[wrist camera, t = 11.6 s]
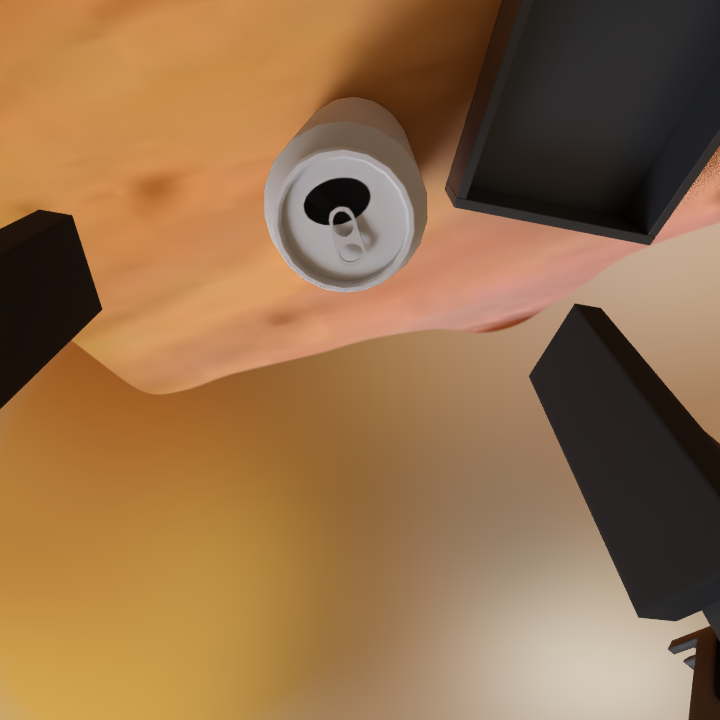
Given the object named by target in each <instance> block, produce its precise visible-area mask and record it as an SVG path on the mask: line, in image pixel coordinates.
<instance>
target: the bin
mask: <svg viewBox="0 0 720 720" xmlns="http://www.w3.org/2000/svg"><path fill="white" fill-rule="evenodd" d="M719 146H720V0H502V2H501V6H500V9H499V12H498V16H497V19H496V22H495V25H494V29H493V32H492V35H491V39H490V42H489V45H488V49H487V52H486V55H485V58H484V62H483V65H482V68H481V72H480V75H479V78H478V82H477V85H476V88H475V91H474V95H473V98H472V101H471V105H470V108H469V111H468V115H467V118H466V121H465V124H464V128H463V131H462V134H461V138H460V141H459V144H458V147H457V151H456V154H455V157H454V161H453V164H452V167H451V171H450V174H449V177H448V180H447V184H446V187H445V191H446V192H447V194H448V196H449V198H450V200H451V202H452V204H453V206H454V207H456V208H461V209H466V210H471V211H476V212H481V213H486V214H491V215H497V216H502V217H507V218H512V219H517V220H522V221H527V222H532V223H538V224H543V225H548V226H553V227H558V228H563V229H568V230H574V231H579V232H584V233H589V234H594V235H599V236H604V237H609V238H615V239H620V240H625V241H630V242H635V243H640V244H645V245H651V243H652V242H653V240H654V239H655V236H657V234H658V233H659V232H660V230H661V229H662V227H663V226H664V224H665V223H666V222H667V220H668V219H669V217H670V216H671V214H672V213H673V212H674V210H675V209H676V207H677V206H678V204H679V203H680V201H681V200H682V199H683V197H684V196H685V194H686V193H687V191H688V190H689V189H690V187H691V186H692V184H693V183H694V181H695V180H696V179H697V177H698V176H699V174H700V173H701V171H702V170H703V168H704V167H705V166H706V164H707V163H708V161H709V160H710V158H711V157H712V156H713V154H714V153H715V151H716V150H717V148H718V147H719Z"/></svg>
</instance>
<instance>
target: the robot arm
mask: <svg viewBox="0 0 720 720" xmlns="http://www.w3.org/2000/svg"><path fill="white" fill-rule="evenodd" d="M101 310H102V307H101V304H100V301H99V297H98V294H97V291H96V288H95V285H94V282H93V279H92V276H91V272H90V269H89V266H88V263H87V260H86V257H85V254H84V251H83V247H82V244H81V241H80V238H79V235H78V232H77V229H76V226H75V222H74V219H73V216H72V215H67V214H61V213H56V212H50V211H44V210H37V211H35V212H33V213H31V214H29V215H27V216H25V217H23V218H21V219H19V220H17V221H15V222H13V223H11V224H9V225H7V226H5V227H3V228H1V229H0V409H1V408H2V407H3V406H4V405H5V404H6V403H7V402H8V401H9V400H10V399H11V398H12V397H13V396H14V395H15V394H16V393H17V392H18V391H19V390H20V389H21V388H22V387H23V386H24V385H25V384H27V383H28V382H29V381H30V379H32V378H33V377H34V376H35V375H36V374H37V373H38V372H39V371H40V370H41V369H42V368H43V367H44V366H45V365H46V364H47V363H48V362H49V361H50V360H51V359H52V358H53V357H54V356H55V355H56V354H57V353H58V352H59V351H60V350H61V349H62V348H63V347H64V346H65V345H66V344H67V343H68V342H70V341H71V340H72V339H73V338H74V337H75V336H76V335H77V334H78V333H79V332H80V331H81V330H82V329H83V328H84V327H85V326H86V325H87V324H88V323H89V322H90V321H91V320H92V319H93V318H94V317H95V316H96V315H97V314H98V313H99V312H100V311H101ZM529 378H530V380H531V382H532V384H533V386H534V389H535V391H536V393H537V395H538V397H539V399H540V402H541V404H542V406H543V408H544V411H545V413H546V415H547V417H548V419H549V422H550V424H551V426H552V428H553V430H554V432H555V435H556V437H557V439H558V441H559V443H560V446H561V448H562V450H563V452H564V455H565V457H566V459H567V461H568V463H569V465H570V468H571V470H572V472H573V474H574V477H575V479H576V481H577V483H578V485H579V488H580V490H581V492H582V494H583V496H584V499H585V501H586V503H587V505H588V507H589V510H590V512H591V514H592V516H593V518H594V521H595V523H596V525H597V527H598V529H599V532H600V534H601V536H602V538H603V540H604V542H605V545H606V547H607V549H608V551H609V554H610V556H611V558H612V560H613V562H614V565H615V567H616V569H617V571H618V573H619V576H620V578H621V580H622V582H623V584H624V587H625V588H626V591H627V593H628V595H629V598H630V600H631V602H632V604H633V606H634V609H635V611H636V613H637V615H638V617H639V618H649V619H658V620H668V621H678V620H680V619H682V618H685V617H687V616H690V615H692V614H694V613H696V612H699V611H701V610H702V611H703V613H704V615H705V617H706V618H707V620H708V622H709V624H710V625H711V626H709V627H706V628H704V629H701V630H698V631H696V632H694V633H691V634H688V635H686V636H683V637H681V638H678V639H675V640H673V641H672V642H671V644H670V646H669V648H668V650H669V651H671V652H672V653H673V654H676V653H679V652H682V651H685V650H688V649H691V648H693V647H694V648H696V655H693V656H690V657H688V658H686V659H685V660H684V663H686V664H687V665H688V666H689V667H691V668H692V669H693V670H694V675H693V683H692V694H691V702H690V713H689V720H720V444H719V443H718V442H717V441H716V440H715V439H713V438H712V437H711V436H709V435H708V434H707V433H706V432H705V431H704V430H703V429H702V428H701V427H700V425H699V424H698V423H697V422H696V421H695V419H694V418H693V417H692V416H691V415H690V414H689V412H688V411H687V410H686V409H685V408H684V406H683V405H682V404H681V403H680V402H679V400H678V399H677V398H676V397H675V396H674V394H673V393H672V392H671V391H670V390H669V389H668V387H667V386H666V385H665V384H664V383H663V381H662V380H661V379H660V378H659V377H658V376H657V374H656V373H655V372H654V371H653V370H652V368H651V367H650V366H649V365H648V364H647V362H646V361H645V360H644V359H643V358H642V356H641V355H640V354H639V353H638V352H637V350H636V349H635V348H634V347H633V346H632V345H631V343H630V342H629V341H628V340H627V339H626V337H625V336H624V335H623V334H622V333H621V331H620V330H619V329H618V328H617V327H616V326H615V324H614V323H613V322H612V321H611V320H610V318H609V317H608V316H607V315H606V314H605V312H604V311H603V310H602V309H601V308H597V307H591V306H586V305H580V304H574V306H573V307H572V309H571V311H570V312H569V314H568V315H567V317H566V318H565V320H564V321H563V323H562V325H561V326H560V328H559V329H558V331H557V332H556V334H555V336H554V337H553V339H552V340H551V342H550V344H549V345H548V347H547V348H546V350H545V352H544V353H543V355H542V356H541V358H540V359H539V361H538V362H537V364H536V366H535V367H534V369H533V371H532V372H531V374H530V375H529Z"/></svg>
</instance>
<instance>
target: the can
mask: <svg viewBox="0 0 720 720" xmlns="http://www.w3.org/2000/svg"><path fill="white" fill-rule="evenodd" d="M264 216H265V219H266V223H267V226H268V230H269V233H270V236H271V239H272V241H273V242H274V244H275V246H276V247H277V249H278V250H279V252H280V253H281V255H282V256H283V258H284V260H285V261H286V262H287V264H288V265H289V266H290V267H291V268H292V269H293V270H294V271H295V272H296V273H298V274H299V275H300V276H301V277H302V278H303V279H304V280H306V281H308V282H310V283H312V284H314V285H316V286H318V287H320V288H323V289H326V290H332V291H338V292H343V293H345V292H354V291H364V290H366V289H369V288H371V287H374V286H376V285H379V284H381V283H383V282H384V281H386V280H387V279H389V278H390V277H391V276H392V275H394V274H395V273H396V272H397V271H399V270H400V269H401V268H402V267H403V266H405V265H406V264H407V263H408V261H409V260H410V258H411V257H412V255H413V254H414V252H415V251H416V249H417V248H418V246H419V245H420V243H421V239H422V236H423V232H424V229H425V226H426V222H427V192H426V189H425V186H424V183H423V181H422V178H421V175H420V172H419V169H418V166H417V163H416V161H415V158H414V155H413V153H412V150H411V147H410V145H409V142H408V139H407V136H406V134H405V131H404V129H403V127H402V126H401V125H400V123H399V122H398V121H397V119H396V118H395V117H394V115H393V114H392V113H391V112H390V111H388V110H387V109H385V108H384V107H382V106H381V105H379V104H378V103H376V102H375V101H371V100H367V99H362V98H358V97H350V98H344V99H338V100H334V101H332V102H331V103H329V104H327V105H326V106H324V107H322V108H320V109H319V110H317V112H316V113H315V114H314V115H313V116H312V117H311V118H310V119H309V121H308V122H307V123H306V124H305V125H304V126H303V127H302V128H301V130H300V131H299V132H298V133H297V134H296V135H295V136H294V137H293V139H292V140H291V141H290V142H289V143H288V145H287V146H286V147H285V148H284V149H283V151H282V152H281V153H280V154H279V156H278V157H277V158H276V159H275V160H274V162H273V165H272V168H271V170H270V173H269V176H268V179H267V182H266V185H265V187H264Z"/></svg>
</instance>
